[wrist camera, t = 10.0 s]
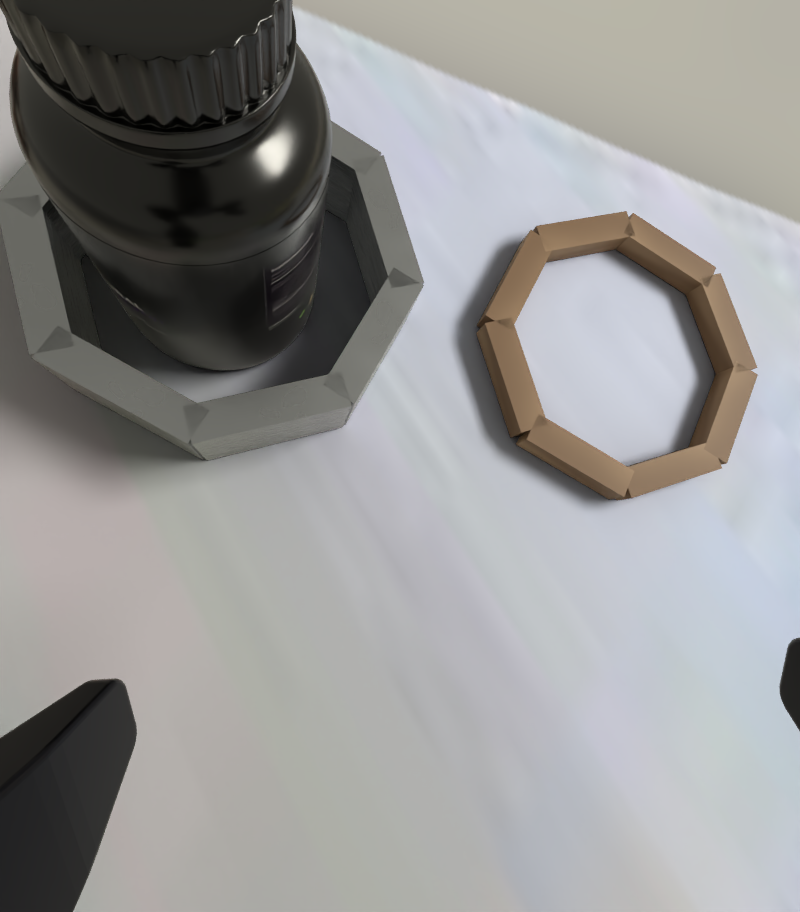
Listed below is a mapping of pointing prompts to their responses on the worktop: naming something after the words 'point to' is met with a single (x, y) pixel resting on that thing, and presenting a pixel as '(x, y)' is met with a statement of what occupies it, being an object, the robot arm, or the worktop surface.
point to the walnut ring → (711, 318)
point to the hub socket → (238, 416)
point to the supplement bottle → (181, 162)
